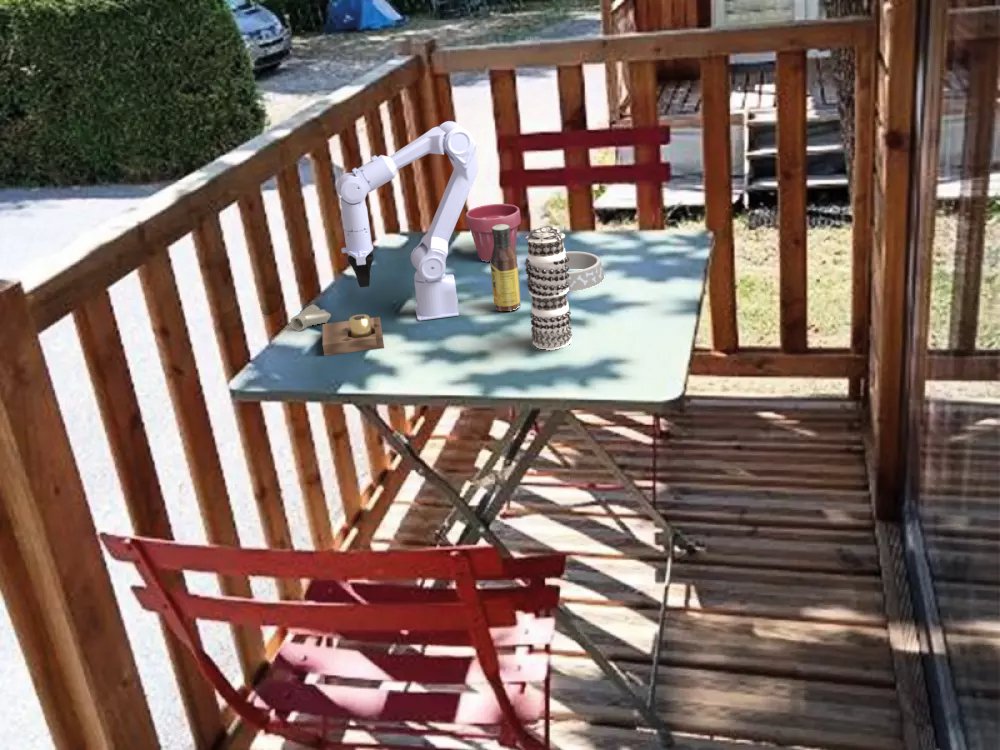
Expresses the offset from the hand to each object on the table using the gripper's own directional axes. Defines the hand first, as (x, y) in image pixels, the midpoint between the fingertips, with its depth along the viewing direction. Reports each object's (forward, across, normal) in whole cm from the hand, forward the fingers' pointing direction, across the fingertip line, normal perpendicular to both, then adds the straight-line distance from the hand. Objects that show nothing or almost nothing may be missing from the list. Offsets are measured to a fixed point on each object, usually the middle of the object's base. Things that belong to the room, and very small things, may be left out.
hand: (364, 286), depth 257 cm
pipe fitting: (+10, -5, -13) cm, 17 cm away
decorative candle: (+10, +25, +38) cm, 46 cm away
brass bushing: (+9, +11, -2) cm, 15 cm away
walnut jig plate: (+9, +9, -4) cm, 14 cm away
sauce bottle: (+10, +1, +32) cm, 33 cm away
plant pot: (+10, -38, +35) cm, 53 cm away
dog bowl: (+10, -13, +49) cm, 52 cm away
